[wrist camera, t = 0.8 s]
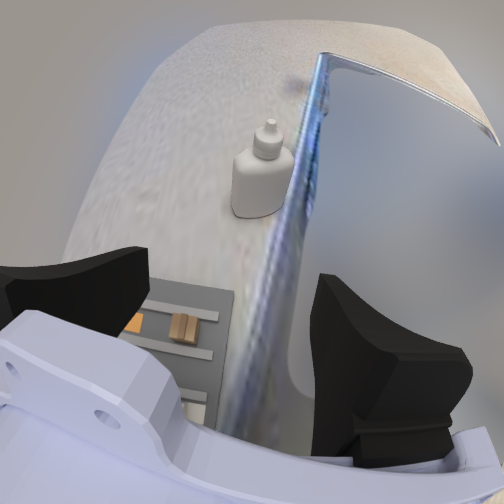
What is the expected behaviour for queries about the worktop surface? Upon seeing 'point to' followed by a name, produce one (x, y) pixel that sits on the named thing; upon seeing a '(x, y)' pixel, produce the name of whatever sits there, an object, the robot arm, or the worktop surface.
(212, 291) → the switch board
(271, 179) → the eye dropper bottle
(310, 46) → the worktop surface
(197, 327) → the oak tab
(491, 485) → the robot arm
